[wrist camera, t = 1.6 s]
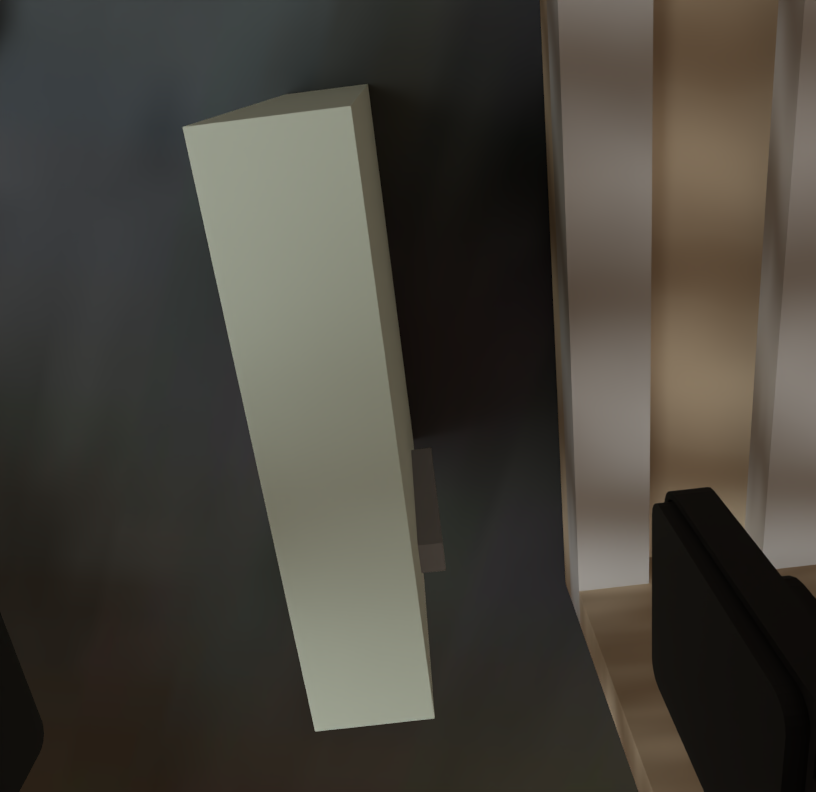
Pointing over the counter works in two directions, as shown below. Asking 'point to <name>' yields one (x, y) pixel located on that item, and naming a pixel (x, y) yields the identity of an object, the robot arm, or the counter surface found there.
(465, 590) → the counter surface
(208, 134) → the door panel
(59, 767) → the counter surface
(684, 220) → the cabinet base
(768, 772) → the robot arm
